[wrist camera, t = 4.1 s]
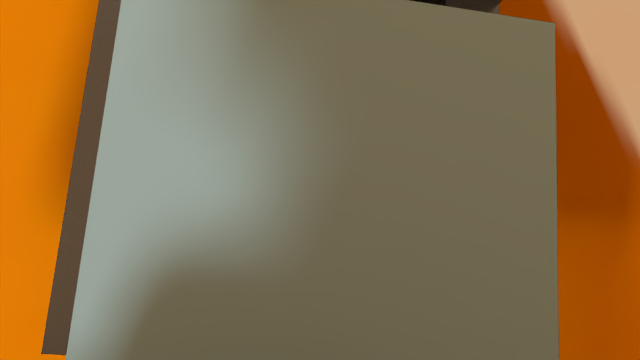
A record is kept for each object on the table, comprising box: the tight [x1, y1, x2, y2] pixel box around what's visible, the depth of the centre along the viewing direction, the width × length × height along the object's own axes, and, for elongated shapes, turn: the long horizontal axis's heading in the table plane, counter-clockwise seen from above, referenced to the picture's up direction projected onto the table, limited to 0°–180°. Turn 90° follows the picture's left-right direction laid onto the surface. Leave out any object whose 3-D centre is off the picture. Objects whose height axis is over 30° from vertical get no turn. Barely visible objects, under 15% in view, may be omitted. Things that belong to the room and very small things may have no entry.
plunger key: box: [66, 0, 559, 360], centre depth 11 cm, size 5×6×8 cm
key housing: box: [41, 0, 502, 355], centre depth 14 cm, size 12×10×7 cm
